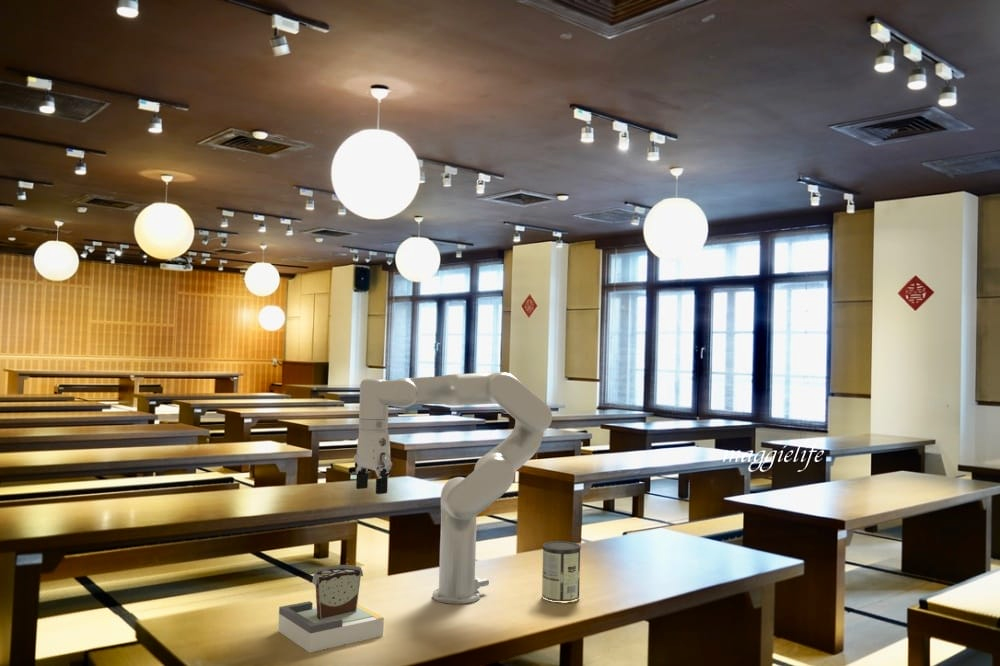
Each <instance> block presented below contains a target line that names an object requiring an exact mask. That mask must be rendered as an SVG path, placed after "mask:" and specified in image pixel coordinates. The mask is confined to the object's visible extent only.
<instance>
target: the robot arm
mask: <svg viewBox="0 0 1000 666" xmlns="http://www.w3.org/2000/svg"><path fill="white" fill-rule="evenodd" d="M430 404H431V405H445V406H450V407H451V406H453V407H454V406H455V407H459V406H460V407H461V406H474V405H476V406H477V405H495V404H497V405H498V406H500V407H501V408H502V409H503V410H504V411H505V412H506V413H508V414H509V416H511V417H512V418H513V419H514V420H515V423H514V428H513V430H512V431H511V432H510V434H509V435H508V436H507V437H506V438H505V439H504V440H502V441H501V442H500V443H499V444H498V445H496V446H495V447H494V448H492V449H490V451H488V452H487V453H486V454H484V455H483V456H482V457H480V458H479V459H478V460H477V462H475V465H474V470H473V471H472V472H471V473H469V474H468V475H467V476H466V477H462V476H457V477H453V478H450V479H449V480H448V481H447V482H445V484H444V485H443V487H442V489H441V492H440V493H441V494H440V539H439V541H440V542H439V572H438V573H439V575H438V588H435V589H434V590H433V592H432V598H433V599H434V600H436V601H437V602H440V603H444V604H452V605H453V604H454V605H455V604H456V605H460V604H461V605H462V604H470V602H471V603H474V602H476V600H477V601H478V600H479V599H480V598H481V592H480V591H479V590H478V589H480V588H481V587H482V588H483V587H487V586H489V584H490V583H489V579H488V578H486V577H485V578H482V579H479V578H478V577H476V555H477V554H476V549H477V548H476V547H477V546H476V545H477V516H478V515H479V514H481V513H482V512H483V511H484V510H486V509H487V508H488V507H490V506H491V505H492V504H493V503H494V502H495V501H497V500H499V498H501V497H502V496H503V495H504V494H505V493H507V492H508V490H510V488H511V487H512V485H513V483H514V481H515V472H517V471H518V470H519V469H521V468H522V467H523V465H525V464H526V463H527V462H528V461H529V460H531V458H532V457H534V455H536V453H537V451H538V449H540V446H541V444H542V440H543V436H544V432H545V431H546V430H547V429H548V428H549V427H550V426H551V424H552V421H553V413H552V409H551V407H550V406H549V405H548V404H547V403H546V402H545V401H544V400H543V399H541V398H540V397H539V396H538V395H537V394H536V393H534V392H533V391H532V390H530V389H529V387H527V386H526V385H525V384H523V382H521V381H520V380H519V379H518V378H517V377H516V376H515V375H513V374H512V373H509V372H504V371H503V372H502V371H500V372H499V371H497V372H482V373H481V372H479V373H478V372H476V373H455V374H454V373H453V374H446V375H440V376H422V377H403V378H402V377H401V378H397V379H392V380H391V379H389V380H387V379H383V378H365V379H362V380H361V382H360V384H359V409H358V410H359V411H358V412H359V413H358V414H359V416H358V437H357V438H358V439H357V445H356V448H357V449H356V453H355V455H353V461H354V468H355V474H356V477H355V478H356V482H355V485H356V486H355V487H356V489H357V490H362V489H367V488H368V486H369V484H368V483H369V482H368V481H369V473H368V470H370V471H374V472H375V474H376V477H377V478H375V494H376V495H384V494H387V493H388V483H389V482H388V479H389V477H390V473H391V470H392V466H393V462H392V461H391V443H390V435H389V431H388V428H389V427H388V426H389V425H388V424H389V423H388V422H389V406H390V407H397V408H408V407H411V406H412V405H414V406H415V405H430ZM475 577H476V578H475Z"/></svg>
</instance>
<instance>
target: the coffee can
mask: <svg viewBox="0 0 1000 666" xmlns="http://www.w3.org/2000/svg"><path fill="white" fill-rule="evenodd" d="M581 548H582V547H581V545H580V544H578V543H576V542H571V541H563V540H561V541H560V540H553V541H548V542H544V543H543V544H542V584H541V587H542V589H541V590H542V591H541V597H542V596H543V597H544V598H546V599H548V600H552V601H572V600H575V599H578V598H580V584H581V583H580V575H581V573H580V571H581Z"/></svg>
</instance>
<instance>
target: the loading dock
mask: <svg viewBox="0 0 1000 666" xmlns="http://www.w3.org/2000/svg"><path fill="white" fill-rule="evenodd" d="M313 604H314V603H313V602H312V601H310V600H309V601H305V602H298V603H293V604H288V605H287V604H286V605H281V606H278V607H279V609H278V628H277V629H278V632H279V633H280V634H282V635H284V636H285V637H286V638H288V639H289V640H290V641H292V642H293V643H295V644H296V645H298V646H299V647H300V648H302V649H303V650H305V651H306V652H308V653H309V654H311V653H314V652H318V651H323V649H324V650H328V649H332V648H336V647H340V646H344V644H345V645H348V644H353V642H354V643H357V641H358V642H362V641H365V640H366V639H367V640H371V639H375V638H380V637H383V636H384V623H385V621H384V620H385V618H384V617H383V616H382V615H380V614H378V613H376V612H374V611H372V610H370V609H368V608H366V607H365V606H362V605H361V604H359V603H357V611H356V612H354V613H350V614H345V615H341V616H336V617H332V618H328V619H323V620H319V619H318V618H317V605H315V606H313ZM361 640H362V641H361ZM327 648H328V649H327Z"/></svg>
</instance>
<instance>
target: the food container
mask: <svg viewBox="0 0 1000 666" xmlns="http://www.w3.org/2000/svg"><path fill="white" fill-rule="evenodd" d="M363 573H364V572H363V570H362V567H361V566H357V565H351V564H350V565H349V564H337V565H329V566H324V567H319V568H318V569H316V570H315V572H314V573H313V577H312V581H311V582H312V584H313V585H315V598H316V600H315V603H316V606H317V618H318V619H319V620H323V619H328V618H332V617H336V616H341V615H345V614H350V613H354V612H356V611H357V604H358V603H359V602H358V601H359V594H360V593H359V592H360V586H361V585H360V584H361V577H364V574H363Z"/></svg>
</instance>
